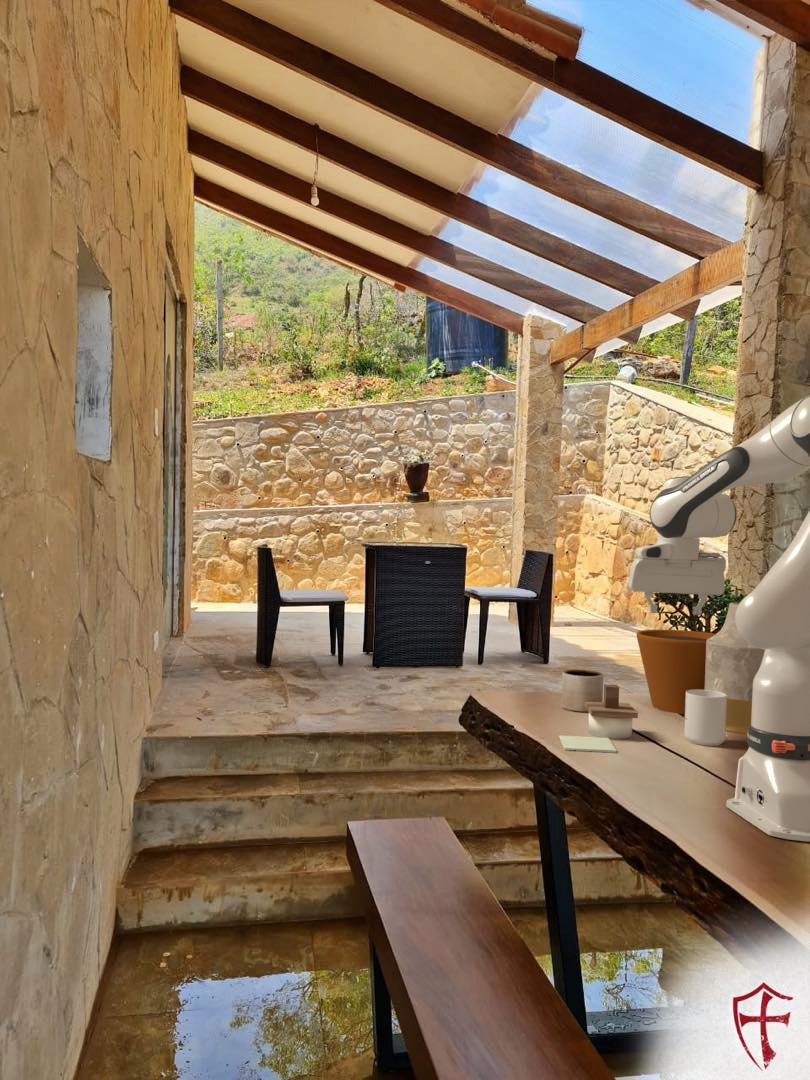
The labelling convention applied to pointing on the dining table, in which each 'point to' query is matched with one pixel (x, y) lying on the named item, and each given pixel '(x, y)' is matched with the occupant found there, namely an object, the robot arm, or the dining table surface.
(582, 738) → the mat
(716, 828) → the dining table surface
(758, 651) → the vase
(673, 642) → the flower pot
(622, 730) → the disc with square top
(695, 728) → the mug
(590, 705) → the lid
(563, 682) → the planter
